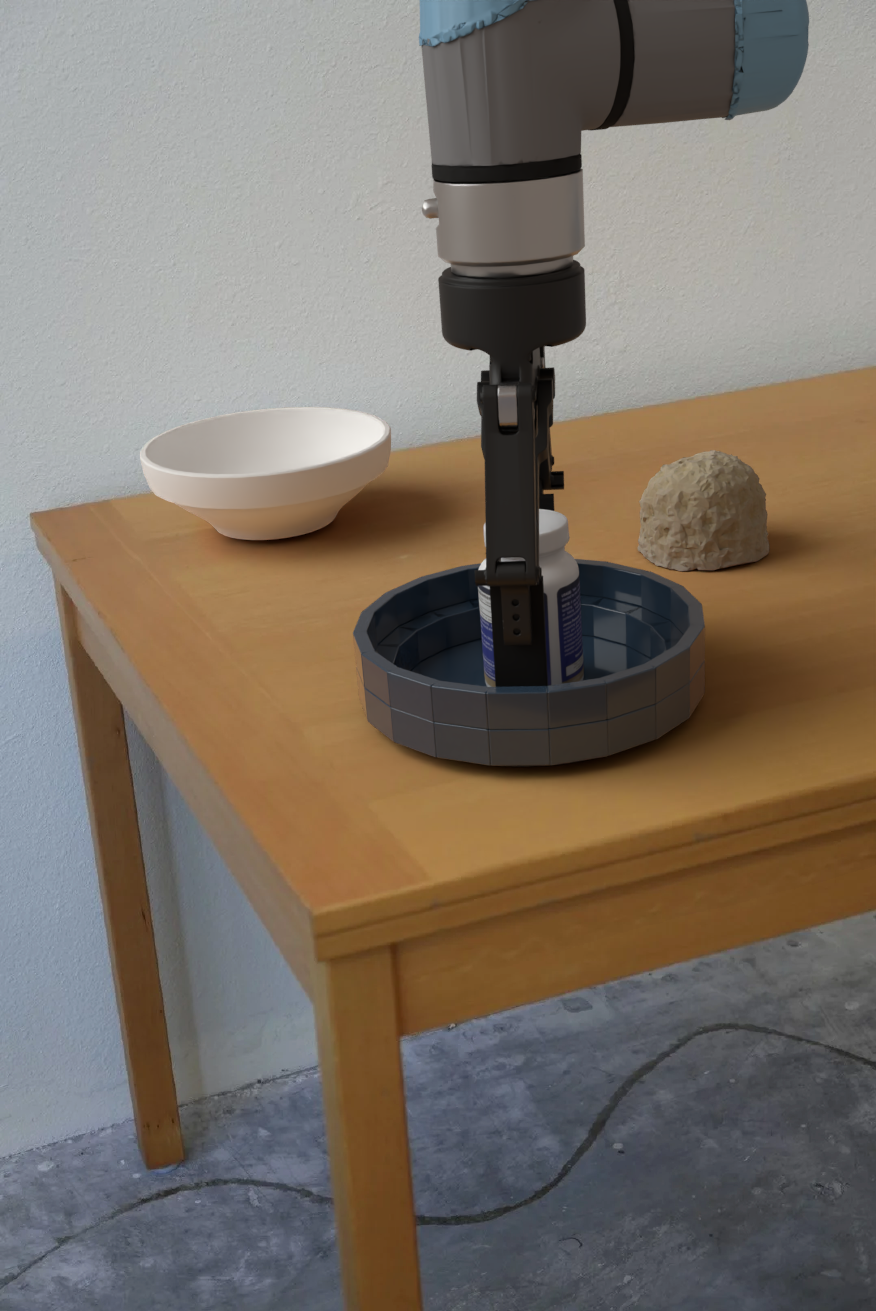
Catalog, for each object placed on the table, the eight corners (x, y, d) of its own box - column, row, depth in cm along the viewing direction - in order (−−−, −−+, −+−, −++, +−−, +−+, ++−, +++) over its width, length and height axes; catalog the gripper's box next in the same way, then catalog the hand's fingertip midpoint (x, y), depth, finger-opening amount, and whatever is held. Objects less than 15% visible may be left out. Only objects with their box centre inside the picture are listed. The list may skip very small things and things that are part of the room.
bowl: (137, 510, 124) (124, 427, 121) (361, 475, 129) (354, 394, 126) (172, 586, 107) (158, 491, 104) (430, 541, 112) (423, 450, 109)
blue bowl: (695, 628, 93) (695, 553, 91) (713, 778, 75) (713, 689, 73) (388, 634, 96) (381, 561, 94) (335, 780, 78) (326, 695, 76)
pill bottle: (549, 656, 89) (543, 498, 85) (603, 689, 84) (599, 523, 80) (466, 681, 86) (455, 518, 82) (516, 716, 82) (507, 546, 78)
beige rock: (638, 610, 107) (632, 529, 98) (639, 503, 112) (634, 417, 103) (769, 608, 105) (775, 525, 97) (765, 500, 110) (770, 412, 102)
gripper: (461, 230, 87) (482, 566, 96) (406, 314, 65) (439, 744, 73) (588, 223, 86) (598, 563, 95) (578, 305, 64) (591, 742, 72)
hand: (529, 643), depth 84 cm, fingers open, 13 cm apart
